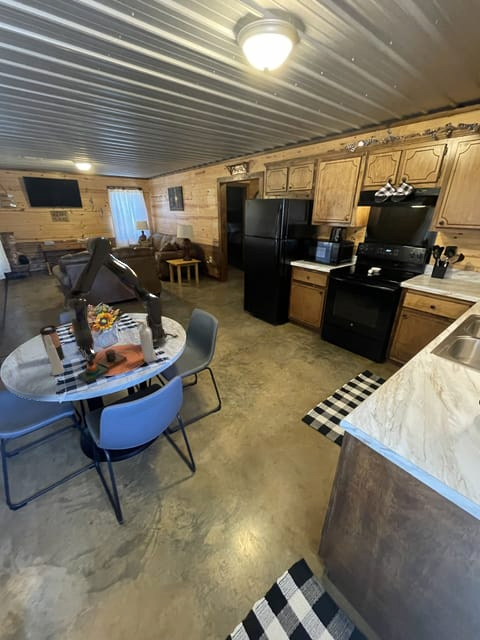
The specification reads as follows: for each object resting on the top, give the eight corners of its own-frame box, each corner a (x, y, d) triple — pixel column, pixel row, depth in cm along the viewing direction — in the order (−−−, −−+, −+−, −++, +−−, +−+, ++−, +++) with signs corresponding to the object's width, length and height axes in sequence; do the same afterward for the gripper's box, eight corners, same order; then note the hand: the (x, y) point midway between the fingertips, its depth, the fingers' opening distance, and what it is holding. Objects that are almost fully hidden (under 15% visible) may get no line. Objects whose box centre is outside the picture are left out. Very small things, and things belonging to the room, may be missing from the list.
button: (93, 366, 140) (92, 363, 139) (97, 368, 138) (96, 365, 137) (86, 370, 137) (86, 367, 136) (91, 372, 135) (90, 369, 135)
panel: (115, 356, 157) (115, 352, 156) (127, 360, 152) (126, 356, 151) (97, 365, 147) (96, 361, 146) (108, 370, 143) (107, 366, 142)
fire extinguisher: (153, 365, 148) (147, 324, 138) (138, 359, 153) (131, 320, 143) (162, 359, 153) (156, 320, 143) (147, 354, 159) (141, 316, 149)
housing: (98, 367, 145) (96, 361, 144) (108, 372, 141) (106, 366, 140) (78, 377, 137) (76, 371, 135) (88, 383, 132) (87, 376, 131)
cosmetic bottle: (53, 370, 143) (41, 334, 134) (65, 368, 145) (54, 332, 136) (50, 376, 138) (38, 339, 129) (64, 373, 140) (52, 337, 131)
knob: (104, 360, 148) (102, 352, 146) (112, 356, 152) (110, 348, 150) (110, 362, 146) (108, 354, 144) (118, 358, 150) (116, 350, 148)
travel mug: (67, 357, 156) (58, 326, 148) (55, 363, 149) (45, 331, 142) (58, 354, 158) (49, 324, 151) (46, 361, 152) (35, 330, 144)
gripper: (98, 335, 130) (105, 365, 137) (83, 330, 136) (90, 359, 143) (83, 341, 124) (91, 372, 131) (68, 335, 130) (76, 365, 137)
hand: (91, 365), depth 137 cm, fingers closed
